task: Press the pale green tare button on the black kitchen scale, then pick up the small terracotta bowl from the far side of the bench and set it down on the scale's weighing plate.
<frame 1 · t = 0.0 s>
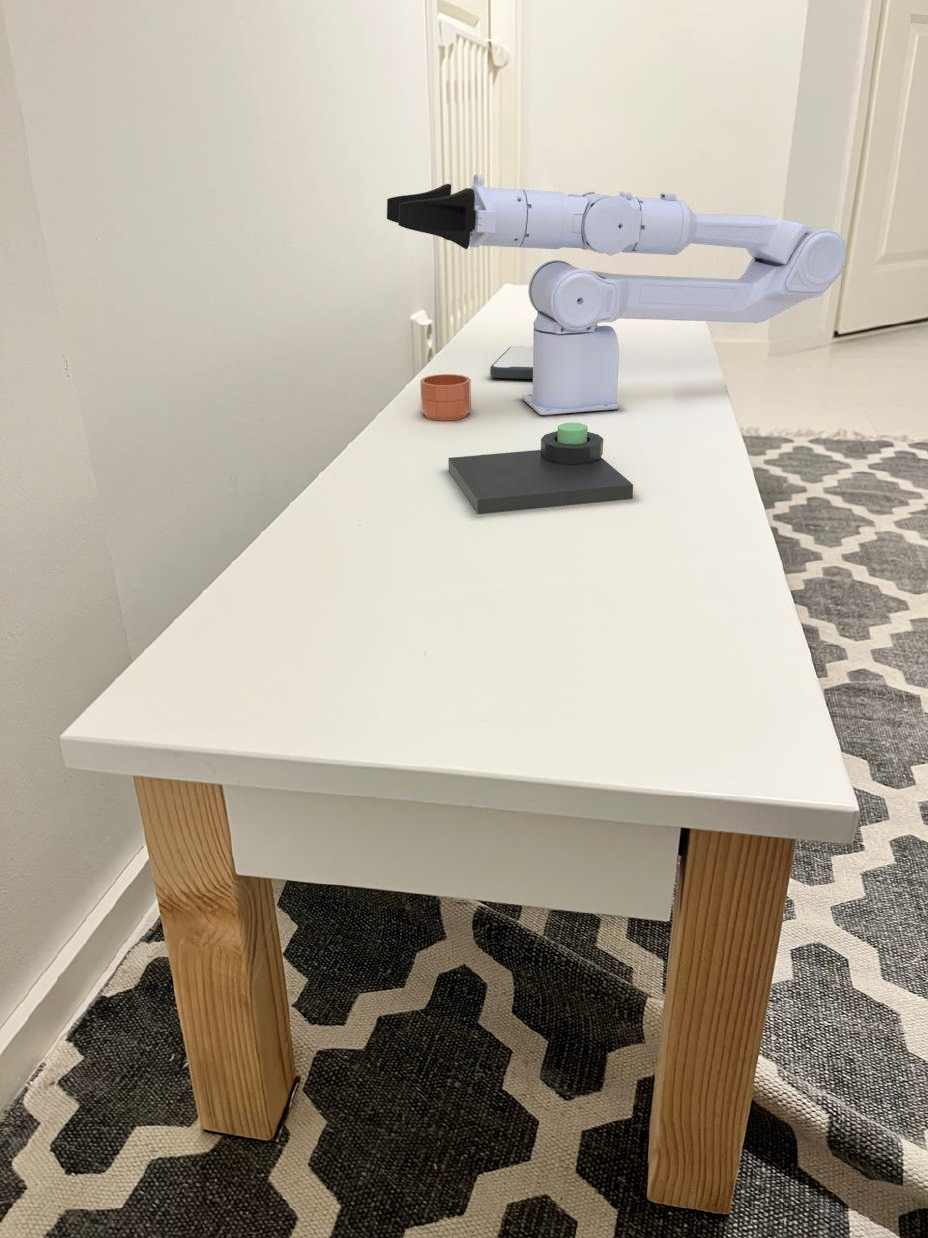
hand: (393, 211, 100), 22 cm above the bench, tool horizontal, fingers open, 7 cm apart
tare button: (572, 434, 92), point 3 cm above the bench, slide at 0.1 cm
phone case: (531, 369, 132), on the bench
bowl: (446, 414, 111), on the bench
scale: (536, 485, 89), on the bench
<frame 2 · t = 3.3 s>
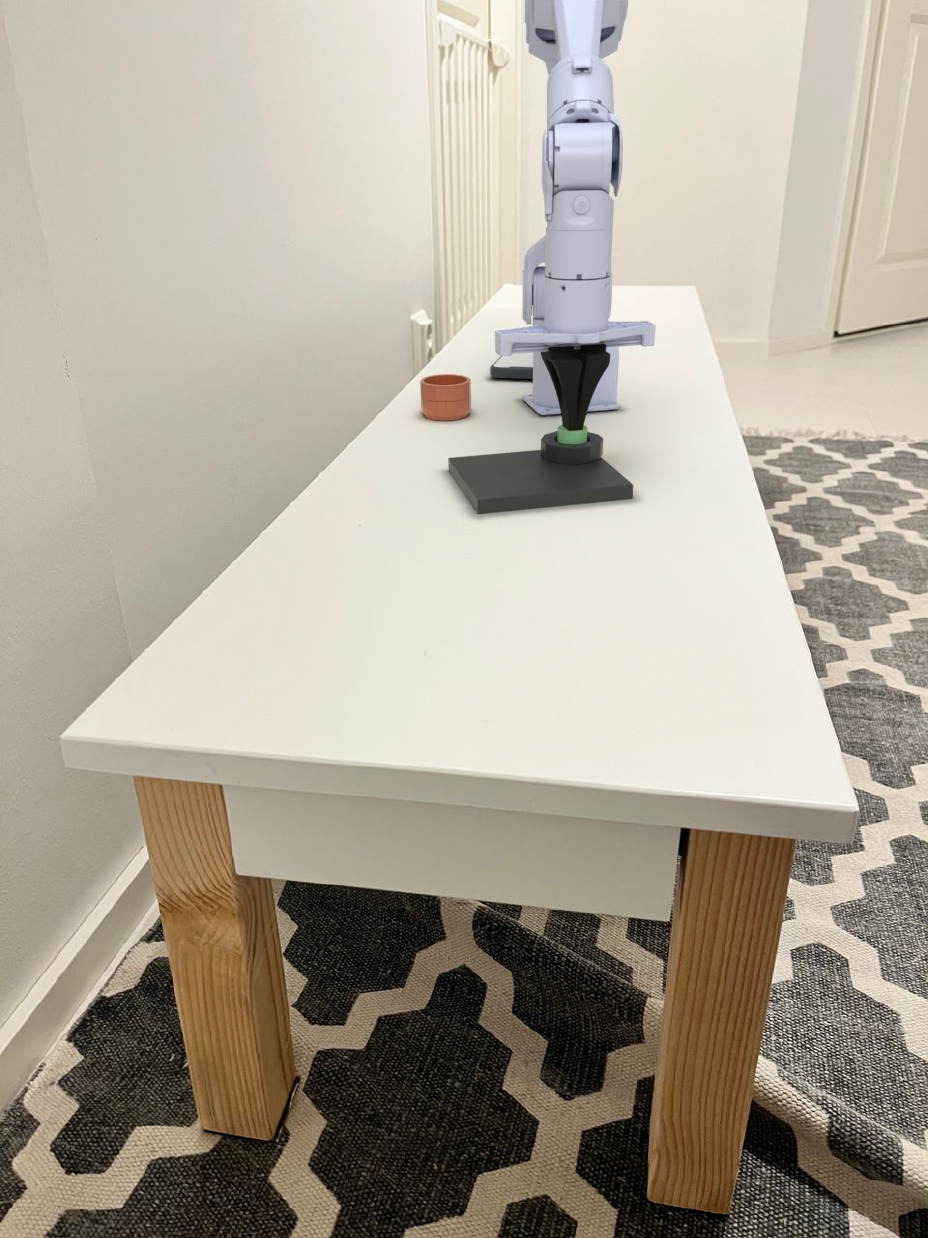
hand: (572, 427, 91), 4 cm above the bench, tool pointing down, fingers closed, pressing on tare button
tare button: (572, 435, 92), point 3 cm above the bench, slide at 0.0 cm, touching gripper
everything else where it was.
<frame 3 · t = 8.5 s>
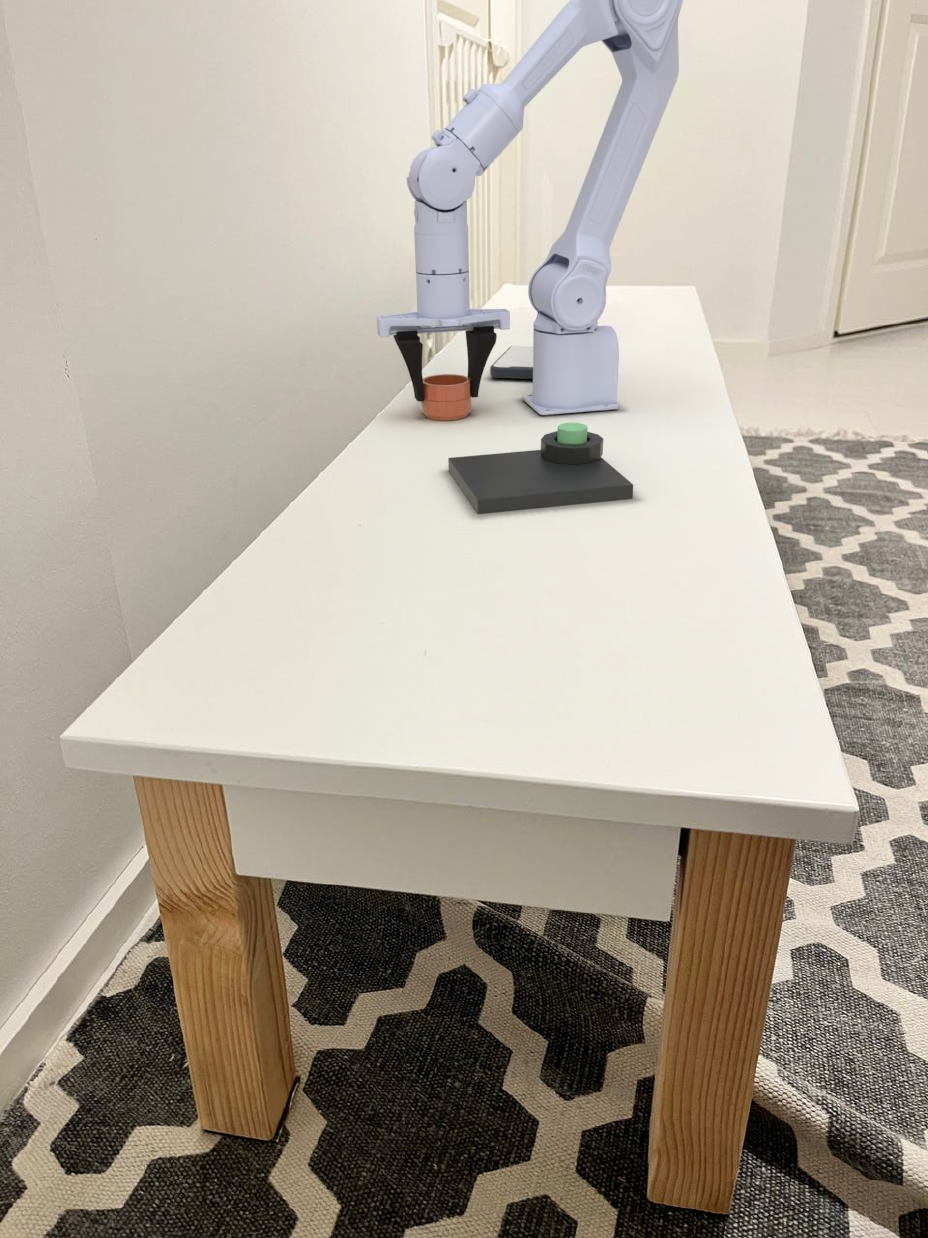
hand: (445, 397, 110), 2 cm above the bench, tool pointing down, fingers closed on bowl, 5 cm apart
tare button: (572, 434, 92), point 3 cm above the bench, slide at 0.1 cm
bowl: (446, 414, 111), on the bench, touching gripper
everything else where it was.
when the fingers open (3 cm above the bench, at t = 13.9 s): bowl stays where it is, resting on scale.
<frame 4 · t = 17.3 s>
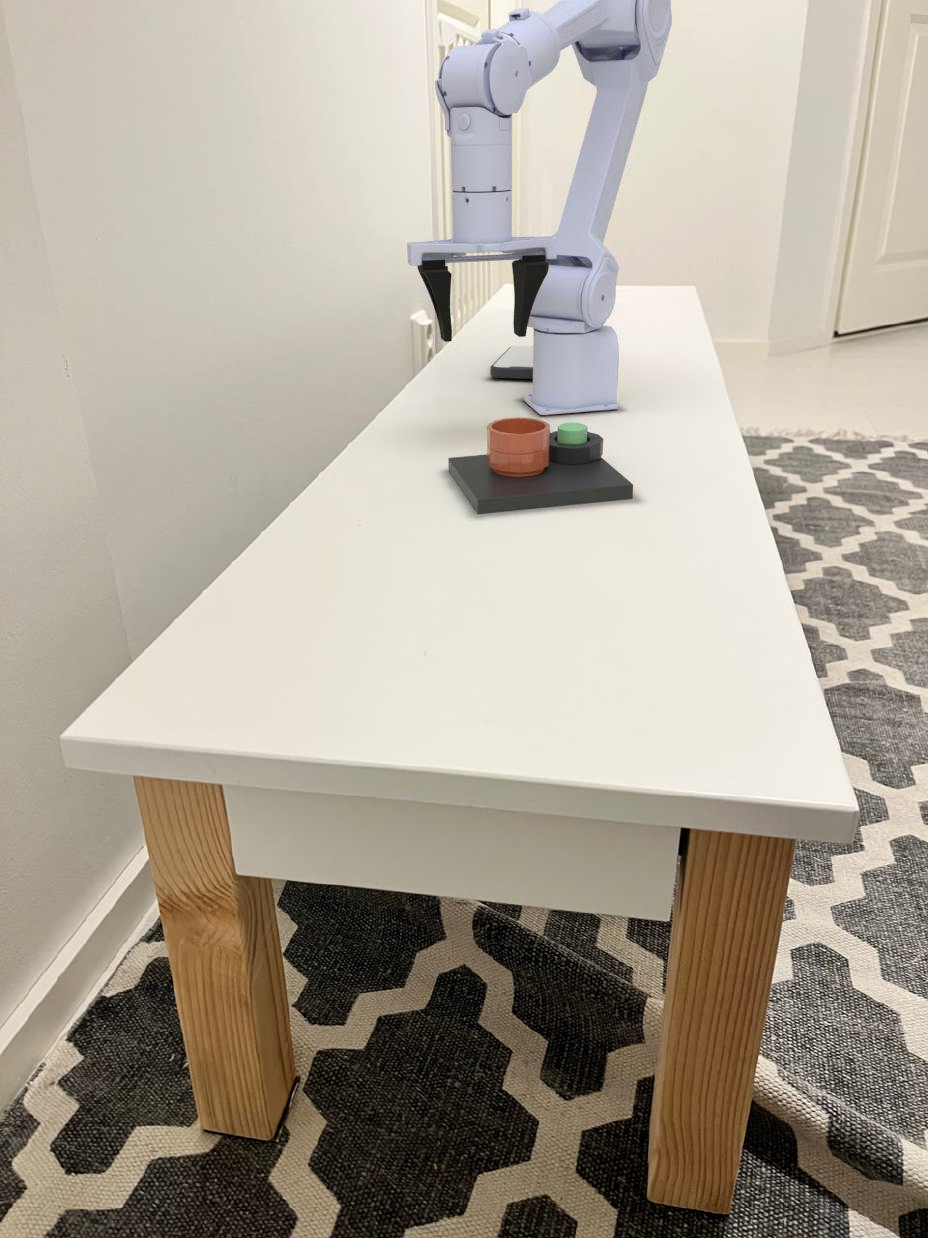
hand: (483, 337, 98), 10 cm above the bench, tool pointing down, fingers open, 7 cm apart
bowl: (518, 468, 89), point 1 cm above the bench, touching scale
everything else where it was.
at the end: tare button pushed in 1.0 cm at the most during the clip, back to where it started at the end; bowl inside the target area on the scale (0.5 cm from its centre), point 1.4 cm above the scale's base; bowl touching scale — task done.
